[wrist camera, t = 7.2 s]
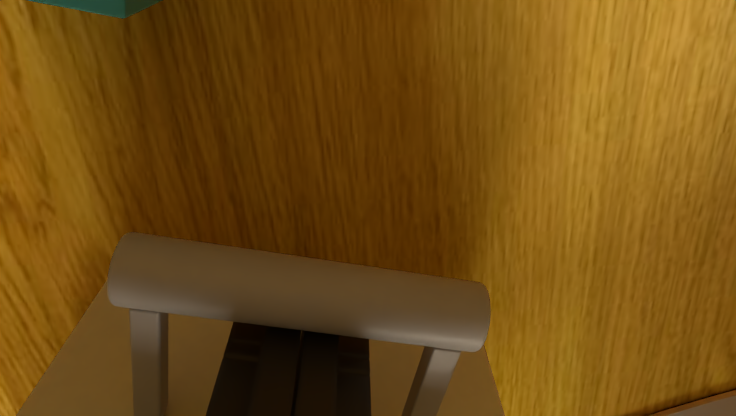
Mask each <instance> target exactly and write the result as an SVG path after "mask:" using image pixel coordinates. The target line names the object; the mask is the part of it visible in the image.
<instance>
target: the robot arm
mask: <svg viewBox="0 0 736 416" xmlns="http://www.w3.org/2000/svg"><path fill="white" fill-rule="evenodd" d="M369 357H370V354H369V339H365V338H357V337H350V336H342V335H334V334H326V333H318V332H311V331H303V330H302V333H301V330H295V329H287V328H280V327H272V326H264V325H256V324H249V323H241V322H233V325H232V328H231V332H230V335H229V338H228V343H227V345H226V349H225V352H224V356H223V359H222V362H221V365H220V369H219V372H218V375H217V379H216V382H215V385H214V389H213V392H212V396H211V399H210V402H209V406H208V409H207V412H206V416H371V387H370V361H369Z"/></svg>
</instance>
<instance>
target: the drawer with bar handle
mask: <svg viewBox="0 0 736 416" xmlns="http://www.w3.org/2000/svg"><path fill="white" fill-rule="evenodd" d="M490 312H491V311H490V298H489V293H488V290H487V288H486V286H485V285H484V284H482V283H480V282H475V281H468V280H461V279H454V278H447V277H440V276H433V275H426V274H420V273H413V272H406V271H399V270H392V269H385V268H378V267H371V266H364V265H357V264H351V263H344V262H337V261H330V260H323V259H316V258H309V257H302V256H295V255H288V254H282V253H275V252H268V251H261V250H254V249H247V248H240V247H233V246H226V245H219V244H213V243H206V242H199V241H192V240H185V239H178V238H171V237H164V236H157V235H150V234H144V233H137V232H129V233H126V234H125V235H124V236H123V237H122V238H121V239H120V241H119V243H118V244H117V246H116V249H115V251H114V253H113V256H112V259H111V263H110V267H109V272H108V279H107V281H106V282H105V284H104V285H103V287H102V288H101V290H100V291H99V293H98V294H97V296H96V297H95V299H94V300H93V302H92V303H91V305H90V306H89V307H88V309H87V310H86V312H85V313H84V315H83V316H82V318H81V319H80V321H79V322H78V324H77V325H76V327H75V328H74V330H73V331H72V333H71V334H70V336H69V337H68V339H67V340H66V342H65V343H64V345H63V346H62V348H61V349H60V351H59V352H58V354H57V355H56V357H55V358H54V360H53V361H52V363H51V364H50V366H49V367H48V369H47V370H46V372H45V373H44V375H43V376H42V378H41V379H40V381H39V382H38V384H37V385H36V386H35V388H34V389H33V391H32V392H31V394H30V395H29V397H28V398H27V400H26V401H25V403H24V404H23V406H22V407H21V409H20V410H19V412H18V413H17V415H16V416H206V412H207V409H208V406H209V402H210V399H211V396H212V392H213V389H214V385H215V382H216V379H217V375H218V372H219V369H220V365H221V362H222V359H223V356H224V352H225V349H226V345H227V343H228V338H229V335H230V332H231V328H232V325H233V322H241V323H249V324H256V325H264V326H272V327H280V328H287V329H295V330H301V333H302V330H303V331H311V332H318V333H326V334H334V335H342V336H350V337H357V338H365V339H369V354H370V357H369V361H370V387H371V416H505V415H504V412H503V408H502V405H501V401H500V398H499V395H498V391H497V388H496V384H495V381H494V378H493V374H492V371H491V367H490V364H489V361H488V357H487V354H486V350H485V347H484V342H485V340H486V337H487V334H488V329H489V324H490Z"/></svg>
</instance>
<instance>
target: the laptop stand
mask: <svg viewBox="0 0 736 416" xmlns="http://www.w3.org/2000/svg"><path fill="white" fill-rule="evenodd" d="M649 416H736V390H733V391H730V392H726V393H723V394H719V395H715V396H712V397H708V398H705V399H701V400H698V401H695V402H691V403H688V404H685V405H681V406H678V407H675V408H671V409H668V410H665V411H661V412H658V413H655V414H652V415H649Z"/></svg>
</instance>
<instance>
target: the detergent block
mask: <svg viewBox="0 0 736 416" xmlns="http://www.w3.org/2000/svg"><path fill="white" fill-rule="evenodd" d="M27 1H33V2H38V3H43V4H48V5H54V6H59V7H64V8H70V9H75V10H80V11H85V12H91V13H96V14H101V15H107V16H112V17H117V18H122V19H123V18H127V17H129V16H131V15H133V14H135V13H137V12H139V11H141V10H144V9H146V8H148V7H150V6H152V5H154V4H156V3H158V2H160V1H163V0H27Z"/></svg>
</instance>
